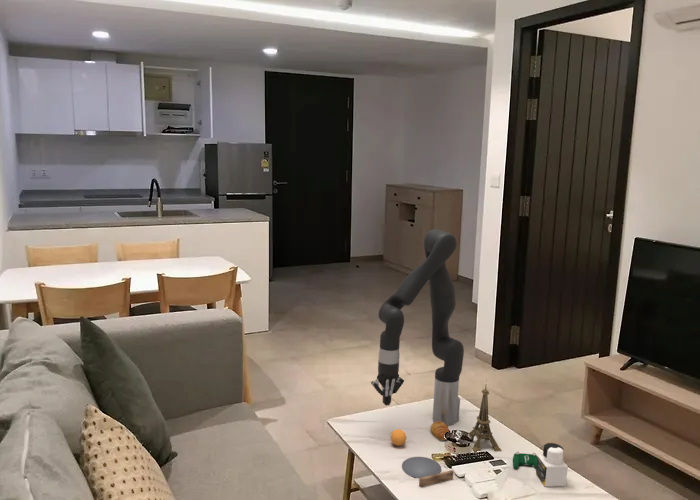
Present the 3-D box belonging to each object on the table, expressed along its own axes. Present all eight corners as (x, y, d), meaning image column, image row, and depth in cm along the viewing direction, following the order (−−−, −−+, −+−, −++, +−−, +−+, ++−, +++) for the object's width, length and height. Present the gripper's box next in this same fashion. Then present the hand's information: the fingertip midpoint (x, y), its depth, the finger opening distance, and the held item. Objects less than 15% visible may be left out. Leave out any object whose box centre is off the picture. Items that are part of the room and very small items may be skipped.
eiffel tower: (501, 451, 208) (507, 384, 203) (473, 453, 205) (478, 386, 201) (489, 436, 218) (493, 372, 213) (462, 438, 216) (466, 374, 211)
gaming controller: (539, 473, 198) (538, 455, 201) (542, 470, 194) (540, 452, 198) (511, 471, 198) (510, 453, 202) (513, 468, 195) (512, 450, 199)
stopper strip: (451, 477, 190) (451, 470, 190) (452, 478, 190) (453, 471, 189) (419, 485, 186) (419, 478, 185) (420, 487, 185) (421, 479, 184)
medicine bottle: (535, 474, 193) (538, 440, 191) (556, 473, 194) (559, 440, 192) (544, 487, 186) (547, 452, 184) (566, 486, 187) (569, 451, 185)
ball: (401, 439, 214) (401, 425, 213) (409, 446, 209) (409, 432, 208) (387, 442, 211) (388, 427, 210) (395, 450, 206) (395, 435, 205)
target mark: (427, 454, 204) (428, 453, 204) (449, 473, 192) (449, 473, 192) (394, 461, 199) (394, 461, 199) (414, 482, 187) (414, 481, 187)
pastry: (453, 441, 214) (454, 431, 213) (435, 442, 213) (436, 433, 212) (445, 429, 223) (446, 419, 222) (428, 430, 222) (428, 420, 221)
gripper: (399, 354, 219) (397, 397, 222) (367, 358, 214) (365, 403, 217) (410, 361, 212) (407, 406, 216) (377, 365, 207) (375, 411, 210)
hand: (386, 404), depth 216 cm, fingers closed
